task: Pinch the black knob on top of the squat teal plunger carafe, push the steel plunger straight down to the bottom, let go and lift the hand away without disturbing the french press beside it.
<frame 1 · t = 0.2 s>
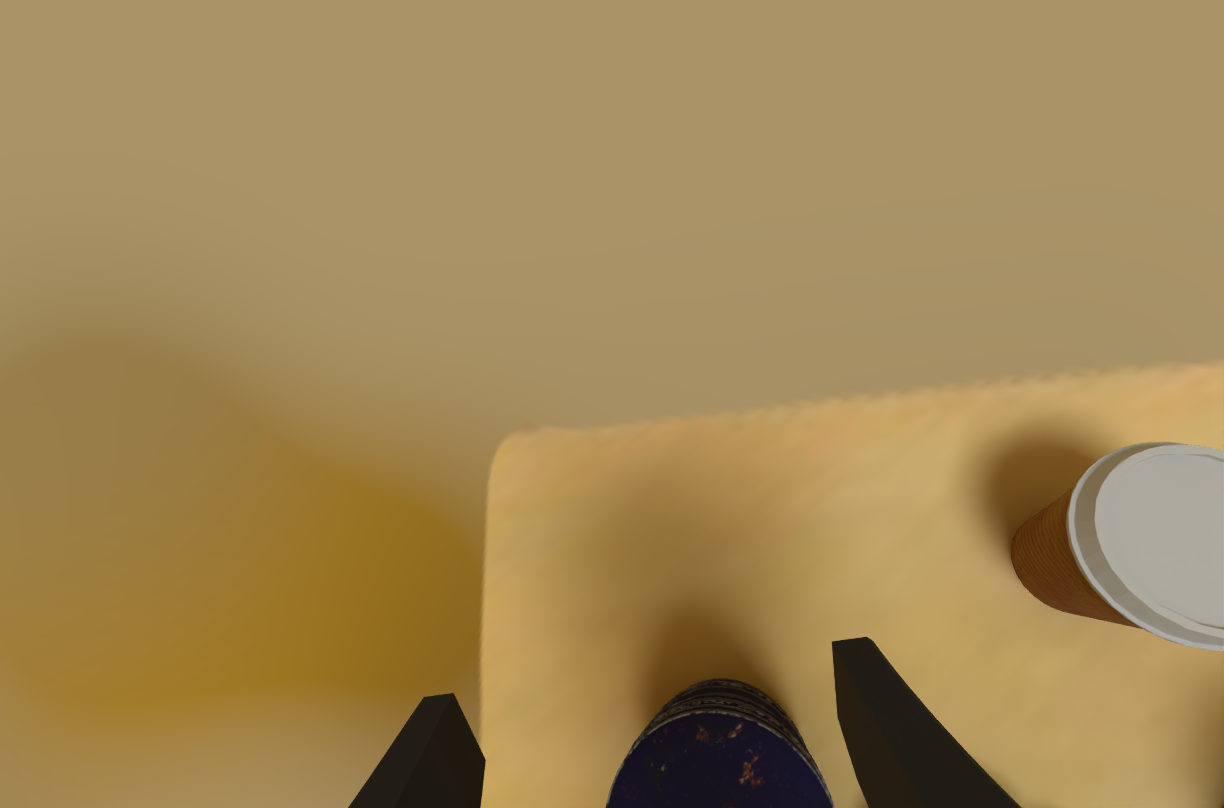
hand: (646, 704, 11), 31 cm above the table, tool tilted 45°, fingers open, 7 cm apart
storage jar: (727, 761, 37), on the table
disposable coffee cup: (1065, 561, 37), on the table
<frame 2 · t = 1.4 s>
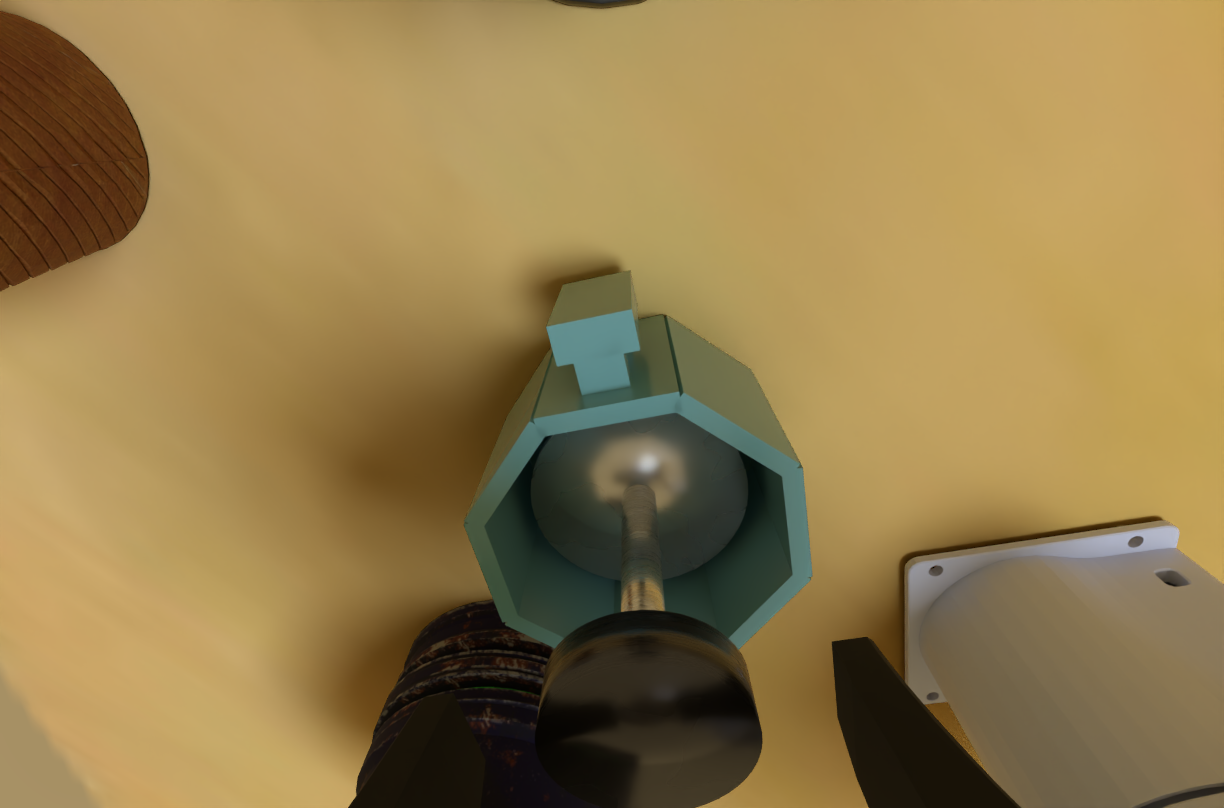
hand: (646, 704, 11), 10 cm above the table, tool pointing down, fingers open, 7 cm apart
storage jar: (516, 677, 26), on the table
carafe: (636, 438, 20), on the table
disposable coffee cup: (42, 140, 17), on the table
plunger: (642, 584, 14), point 7 cm above the table, slide at 2.5 cm
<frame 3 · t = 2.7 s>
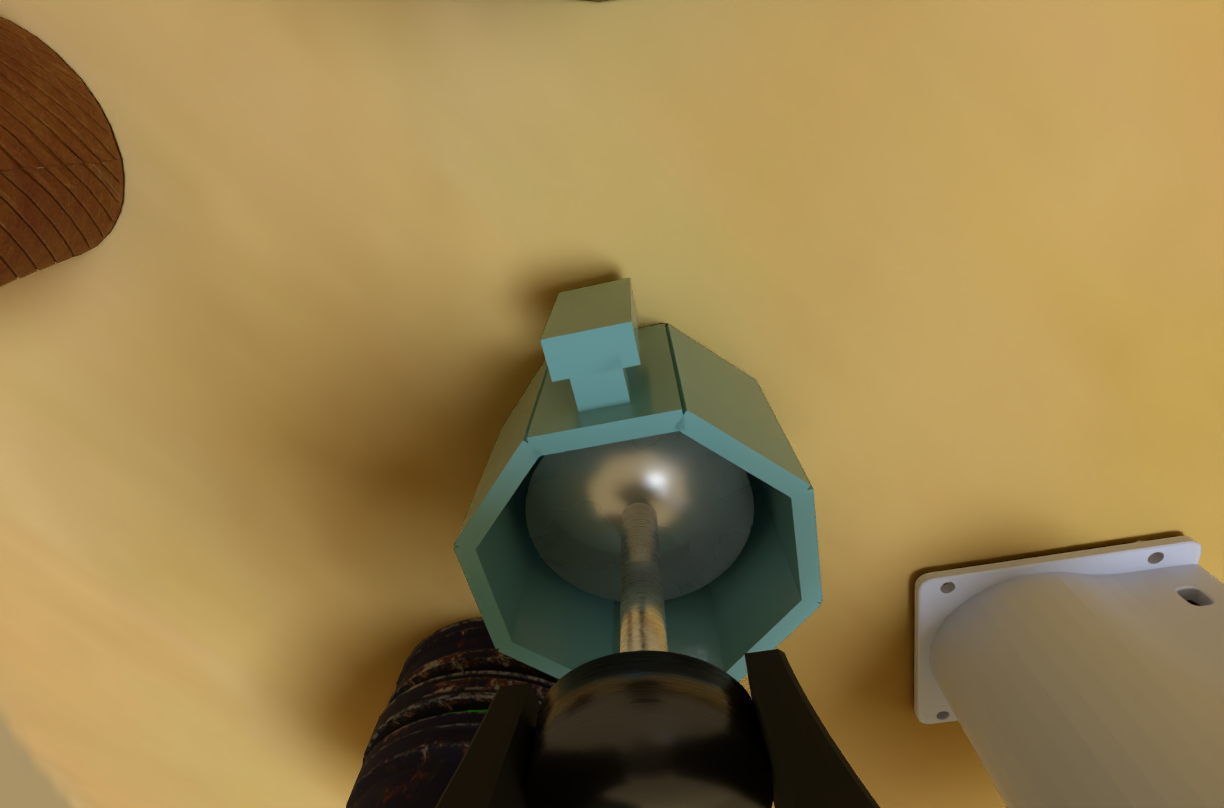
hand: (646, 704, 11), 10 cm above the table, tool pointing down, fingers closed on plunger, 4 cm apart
storage jar: (512, 695, 25), on the table
carafe: (636, 451, 20), on the table
disposable coffee cup: (12, 142, 16), on the table
plunger: (642, 613, 13), point 7 cm above the table, slide at 2.5 cm, touching gripper
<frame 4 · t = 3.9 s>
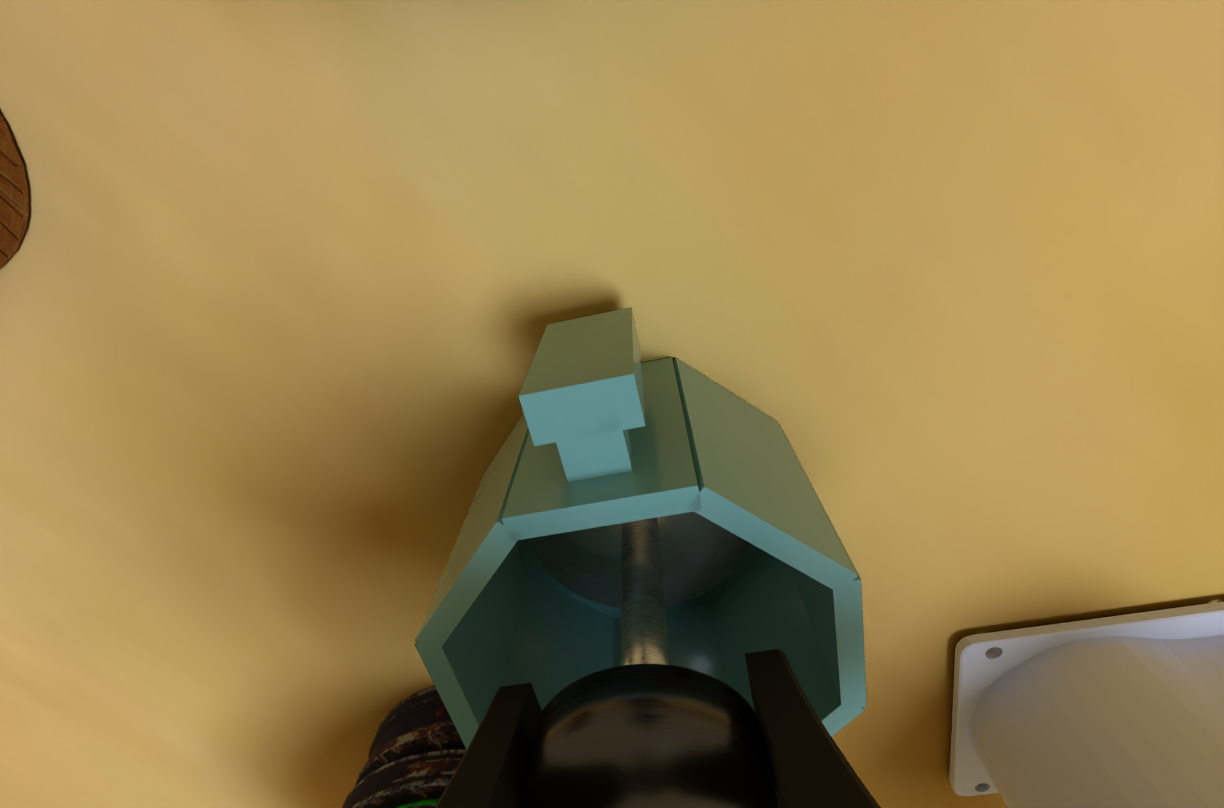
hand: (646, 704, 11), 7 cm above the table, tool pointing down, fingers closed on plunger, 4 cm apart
storage jar: (500, 760, 23), on the table
carafe: (639, 501, 17), on the table
plunger: (643, 622, 13), point 5 cm above the table, slide at -0.1 cm, touching gripper
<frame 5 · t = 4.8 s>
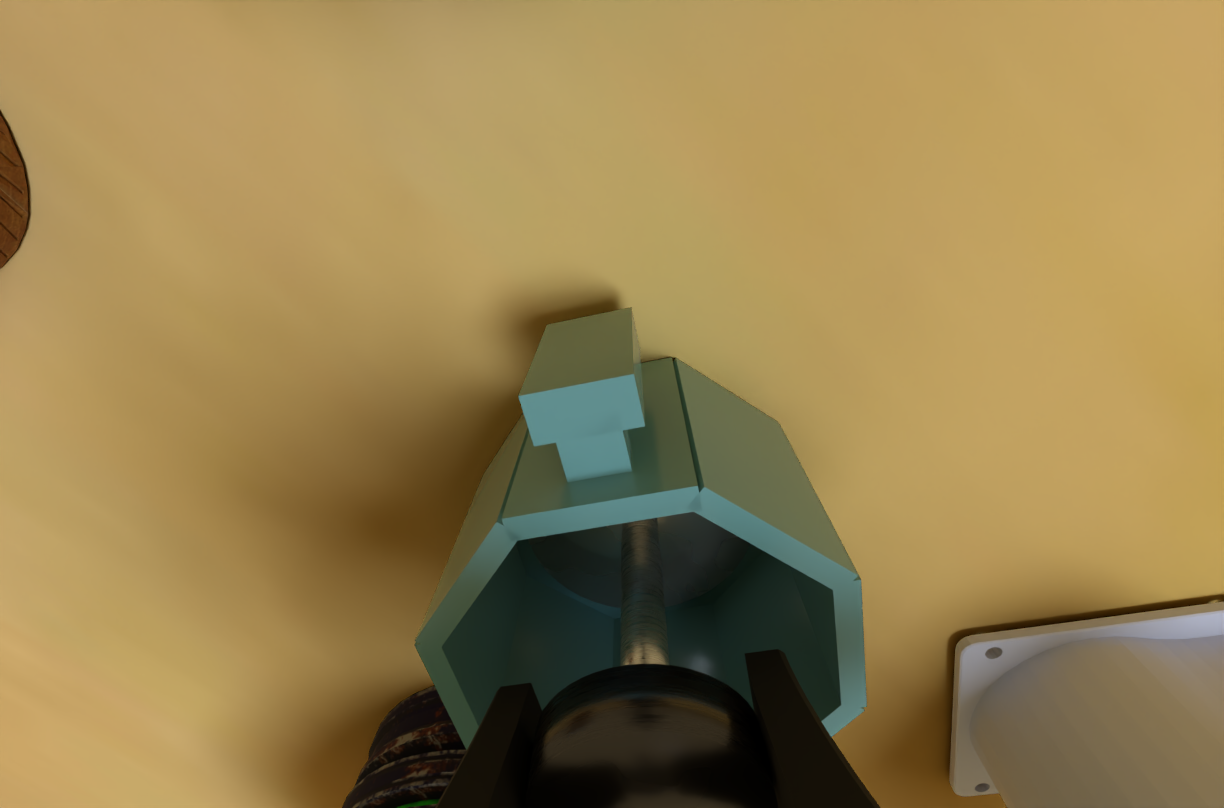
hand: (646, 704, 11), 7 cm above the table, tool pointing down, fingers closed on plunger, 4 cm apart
storage jar: (499, 761, 23), on the table
carafe: (638, 501, 17), on the table
plunger: (643, 622, 13), point 5 cm above the table, slide at -0.1 cm, touching carafe, gripper
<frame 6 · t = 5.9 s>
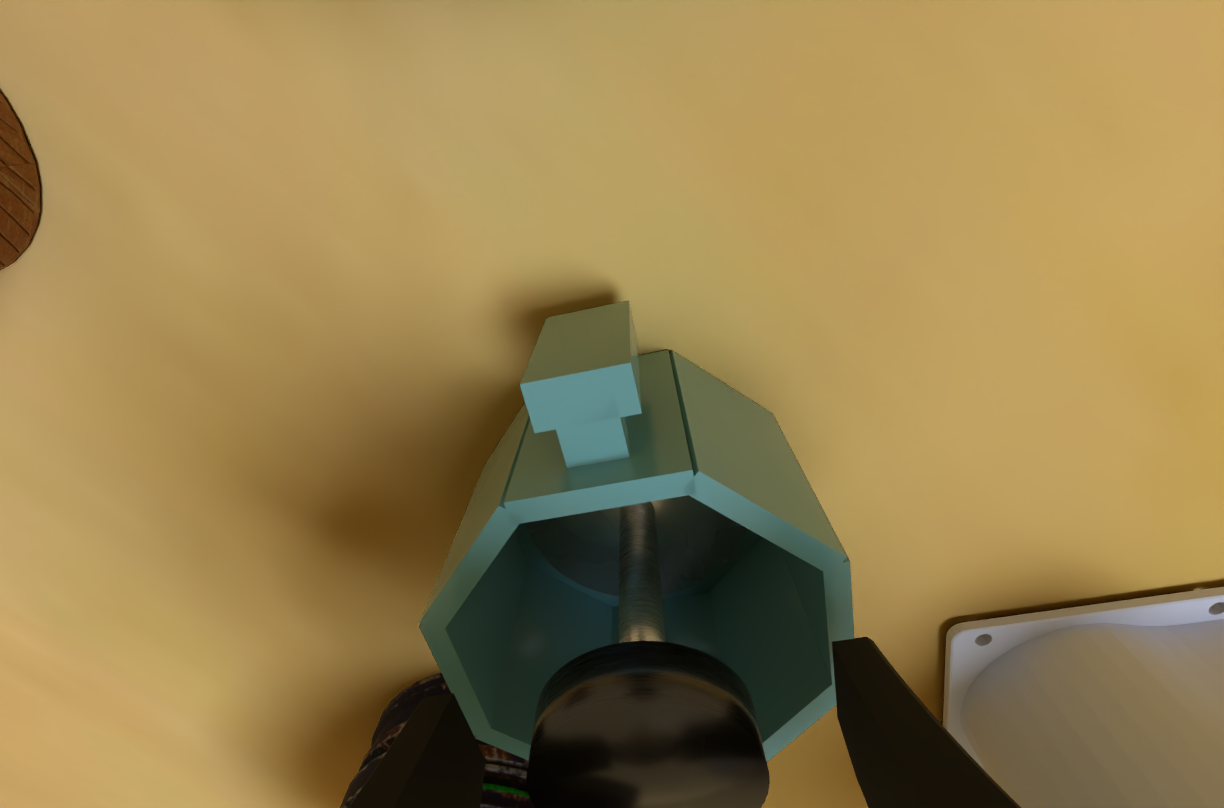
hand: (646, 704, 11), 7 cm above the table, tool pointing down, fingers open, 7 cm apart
storage jar: (500, 749, 23), on the table
carafe: (636, 491, 17), on the table
plunger: (640, 606, 13), point 5 cm above the table, slide at -0.1 cm
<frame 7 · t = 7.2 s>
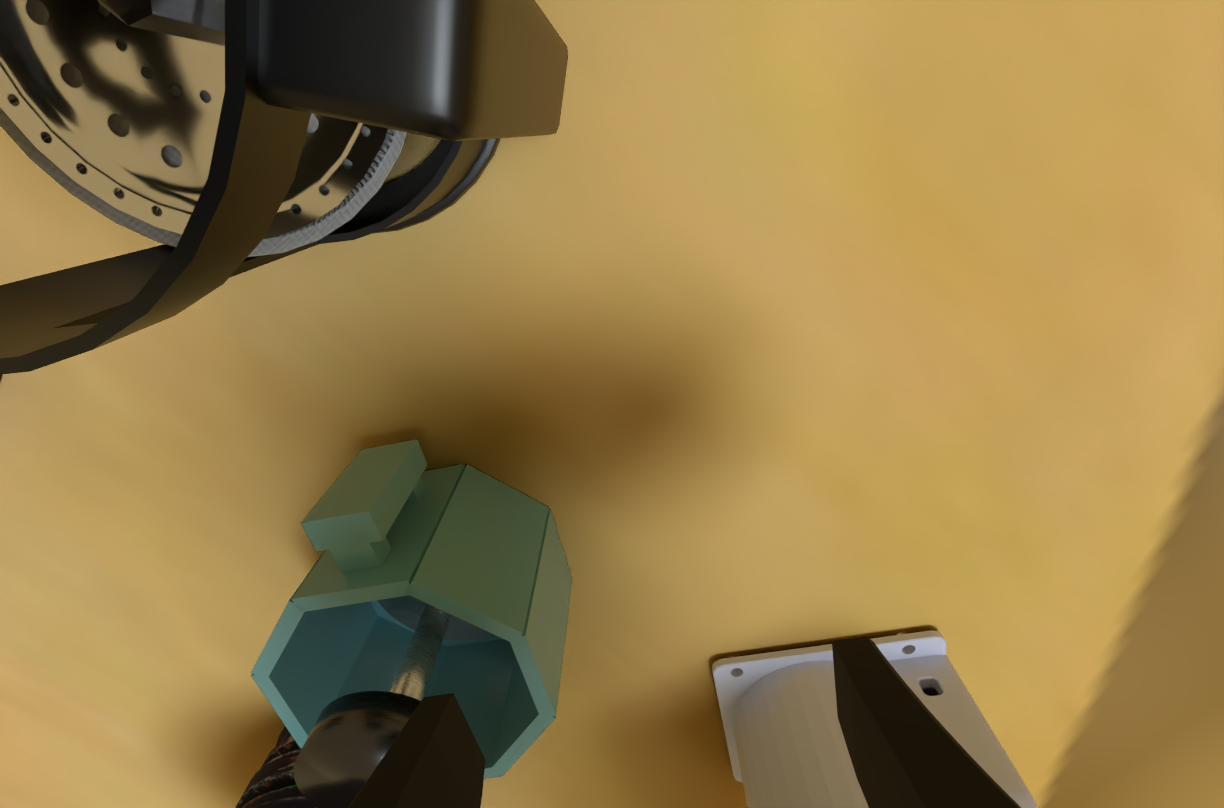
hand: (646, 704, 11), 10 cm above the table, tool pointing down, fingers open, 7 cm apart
storage jar: (383, 755, 28), on the table
carafe: (457, 561, 23), on the table
french press: (362, 55, 16), on the table
plunger: (420, 657, 19), point 5 cm above the table, slide at -0.1 cm
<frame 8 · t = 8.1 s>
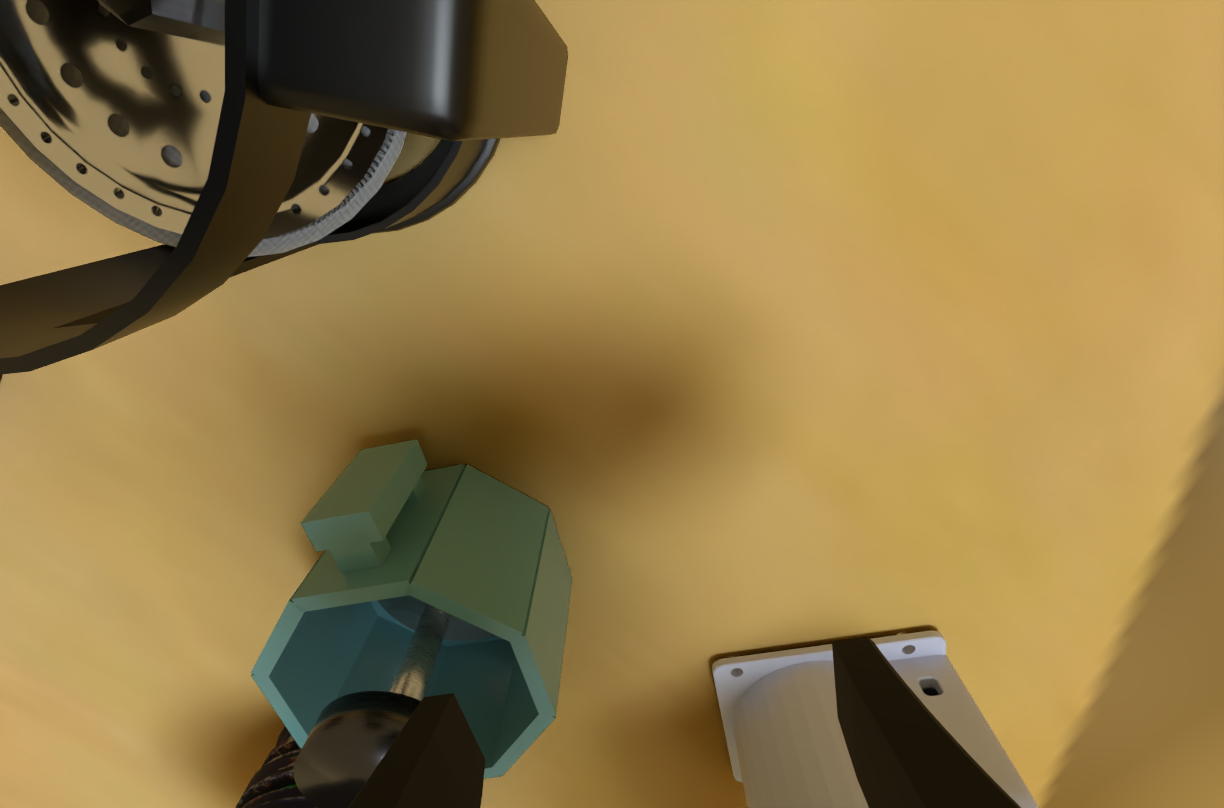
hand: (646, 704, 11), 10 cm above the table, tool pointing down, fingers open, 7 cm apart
storage jar: (383, 755, 29), on the table
carafe: (457, 561, 23), on the table
french press: (362, 55, 16), on the table
plunger: (420, 657, 19), point 5 cm above the table, slide at -0.1 cm
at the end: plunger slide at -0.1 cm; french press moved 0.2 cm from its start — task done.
